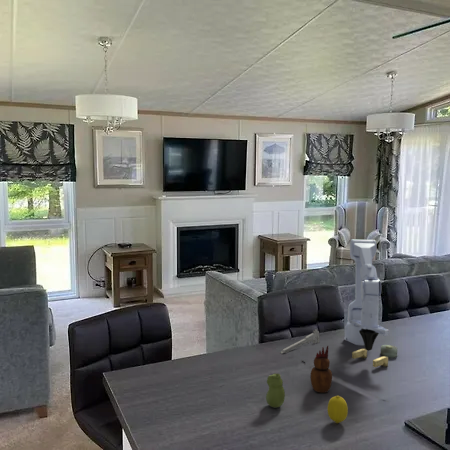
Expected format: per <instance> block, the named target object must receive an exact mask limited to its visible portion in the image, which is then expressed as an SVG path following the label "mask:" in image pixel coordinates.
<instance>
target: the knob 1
mask: <svg viewBox="0 0 450 450" xmlns="http://www.w3.org/2000/svg"><path fill="white" fill-rule="evenodd" d="M351 358H352V359H359V358H361V359H365V360H366V359H367V358H368V350H365V347H364V348H363V347H362V348H360V349H358V350H354V351H352V352H351Z"/></svg>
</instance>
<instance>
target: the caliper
mask: <svg viewBox="0 0 450 450" xmlns="http://www.w3.org/2000/svg"><path fill="white" fill-rule="evenodd" d="M311 342H312V343H313V345H316V344H319V343H320V331H318V329H317V328H316V329H313V332H312V333H310V334H308V335H306V336H304V338H302V339H300V340H298V341H297V342H295V343H293V344H291V345H289V346H287V347H285V348H284V349H282V350H281V351H280V354H287V353H289V352H292V351H293V350H294V349H297V348H299V347H301V346H302V345H304V344H309V343H311Z"/></svg>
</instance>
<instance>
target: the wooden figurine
mask: <svg viewBox="0 0 450 450" xmlns="http://www.w3.org/2000/svg"><path fill="white" fill-rule="evenodd" d="M313 359H314V360H313V366H314V367H312V368H311V371H310V383H311V384H310V385H311V387H312V390H314V391H315V392H317V393H322V394H323V393H328V391H330V389H331V386H332V381H333V373H332V371H331V369H330V368H329V367H330V364H331V363H330V358H329V345H327V346H326V349H324V346H323V347H322V349H321V350H319V351H318V352H316V355H315V357H314V358H313Z"/></svg>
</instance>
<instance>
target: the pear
mask: <svg viewBox="0 0 450 450" xmlns="http://www.w3.org/2000/svg"><path fill="white" fill-rule="evenodd" d="M283 382H284V381H283V379H282V377H281V374H280V373H273V374H271V375H268V376H267V379H266V383H267V386H268V390H267V392H266V395H265V400H266V403H267V404H268V405H269V407H270V408H275V409H278V408H280V407H281V406H283V404H284V403H285V398H286V394H285V392H286V391H285V389H284V385H283V384H284V383H283Z"/></svg>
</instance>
